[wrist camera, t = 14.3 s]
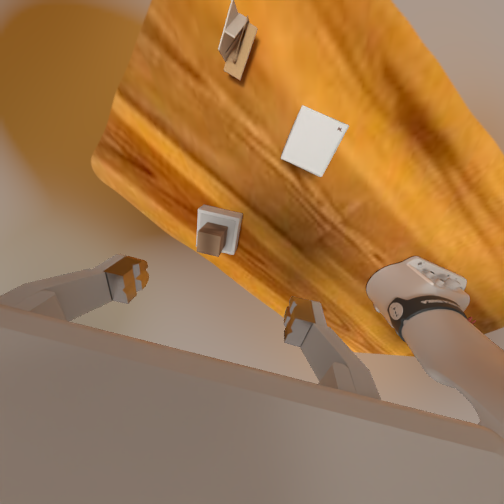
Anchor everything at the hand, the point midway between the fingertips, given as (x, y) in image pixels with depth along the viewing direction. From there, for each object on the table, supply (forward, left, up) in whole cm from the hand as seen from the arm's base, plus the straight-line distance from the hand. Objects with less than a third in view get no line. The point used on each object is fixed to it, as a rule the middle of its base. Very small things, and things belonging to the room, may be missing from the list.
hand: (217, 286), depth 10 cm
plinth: (+9, +13, -37) cm, 40 cm away
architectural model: (+9, -21, -38) cm, 44 cm away
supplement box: (-6, -9, -37) cm, 39 cm away
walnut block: (+9, +13, -33) cm, 36 cm away
